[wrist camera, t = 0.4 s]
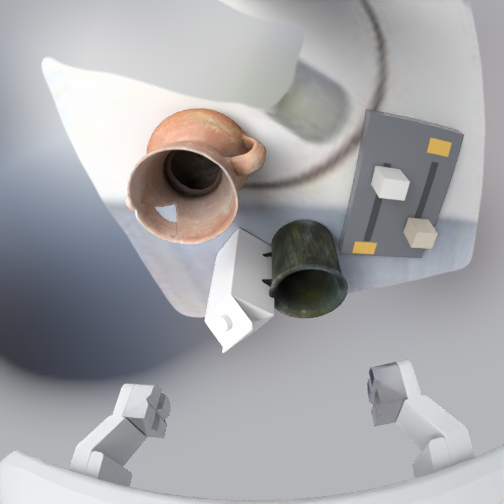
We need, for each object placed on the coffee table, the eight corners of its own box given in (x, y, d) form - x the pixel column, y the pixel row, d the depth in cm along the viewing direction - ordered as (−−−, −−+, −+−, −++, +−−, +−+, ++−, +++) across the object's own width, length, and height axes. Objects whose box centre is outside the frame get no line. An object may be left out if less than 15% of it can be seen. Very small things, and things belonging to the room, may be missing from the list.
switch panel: (366, 109, 38) (370, 113, 36) (457, 130, 37) (464, 134, 36) (338, 246, 53) (340, 253, 51) (417, 250, 53) (421, 258, 51)
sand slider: (408, 217, 45) (417, 231, 42) (428, 219, 45) (437, 233, 42) (403, 232, 47) (411, 247, 44) (422, 234, 47) (431, 248, 44)
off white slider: (375, 165, 40) (384, 178, 37) (399, 169, 40) (410, 181, 37) (371, 184, 42) (379, 197, 39) (395, 187, 42) (404, 200, 39)
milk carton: (273, 246, 53) (275, 339, 39) (250, 271, 57) (244, 361, 43) (238, 226, 51) (227, 318, 36) (216, 253, 55) (199, 343, 40)
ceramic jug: (170, 207, 49) (146, 266, 38) (131, 128, 40) (87, 169, 30) (279, 176, 46) (285, 232, 35) (249, 84, 37) (245, 108, 26)
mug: (332, 265, 56) (343, 316, 46) (252, 268, 57) (249, 321, 48) (336, 214, 49) (352, 263, 39) (246, 218, 50) (240, 269, 41)
